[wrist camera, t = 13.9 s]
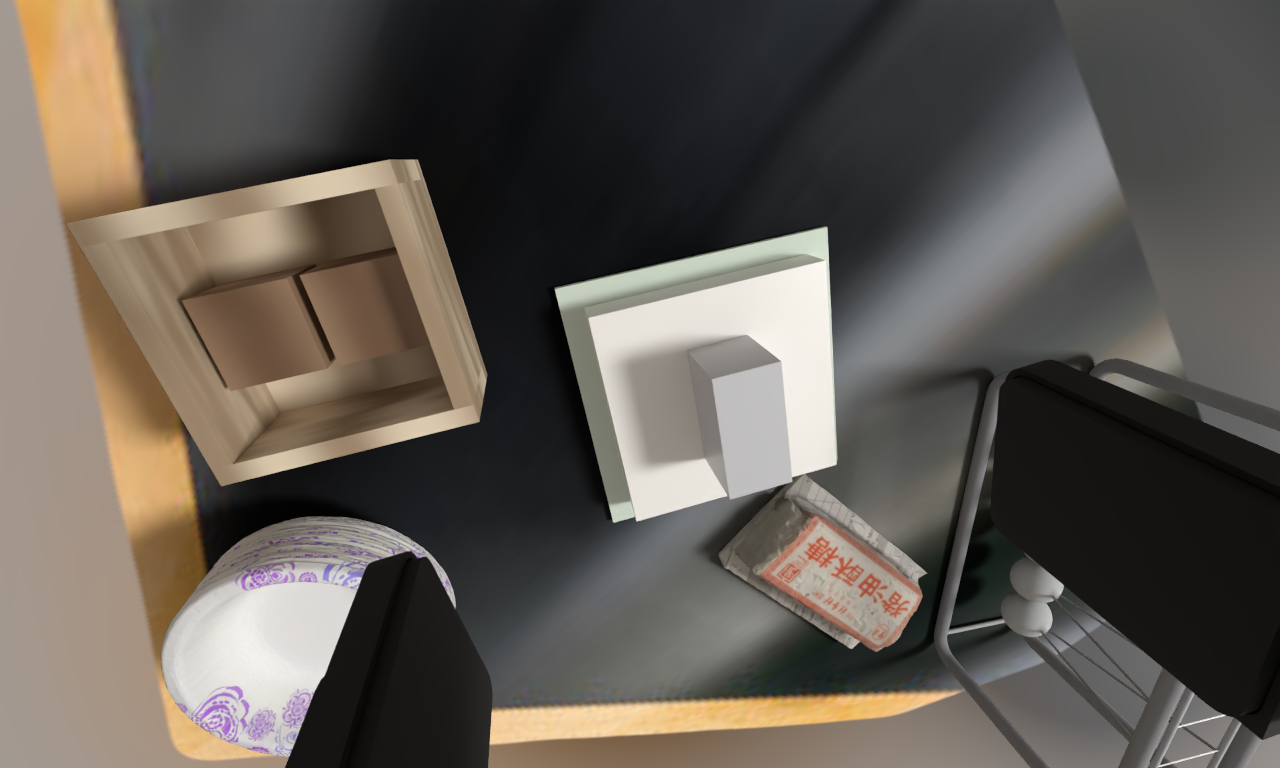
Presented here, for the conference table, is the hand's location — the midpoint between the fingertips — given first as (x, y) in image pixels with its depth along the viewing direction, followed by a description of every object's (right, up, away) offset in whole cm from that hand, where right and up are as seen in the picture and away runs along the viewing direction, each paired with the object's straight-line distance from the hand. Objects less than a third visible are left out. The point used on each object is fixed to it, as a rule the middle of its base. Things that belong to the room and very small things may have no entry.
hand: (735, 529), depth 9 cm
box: (-19, +7, +23) cm, 31 cm away
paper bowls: (-22, -11, +30) cm, 39 cm away
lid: (+4, +2, +30) cm, 30 cm away
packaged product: (+14, -13, +39) cm, 44 cm away
